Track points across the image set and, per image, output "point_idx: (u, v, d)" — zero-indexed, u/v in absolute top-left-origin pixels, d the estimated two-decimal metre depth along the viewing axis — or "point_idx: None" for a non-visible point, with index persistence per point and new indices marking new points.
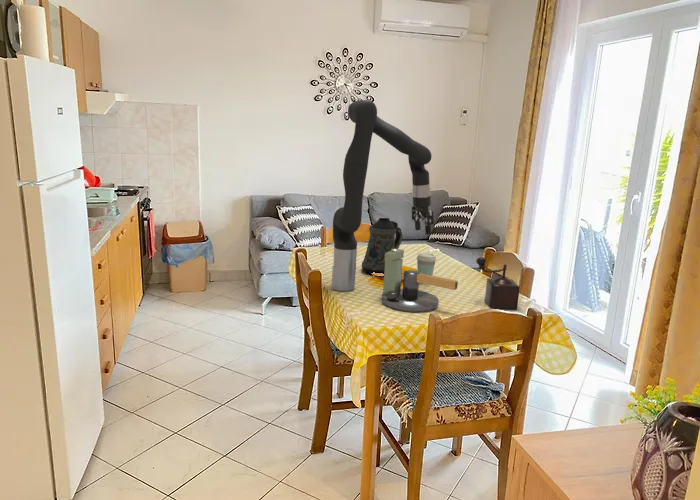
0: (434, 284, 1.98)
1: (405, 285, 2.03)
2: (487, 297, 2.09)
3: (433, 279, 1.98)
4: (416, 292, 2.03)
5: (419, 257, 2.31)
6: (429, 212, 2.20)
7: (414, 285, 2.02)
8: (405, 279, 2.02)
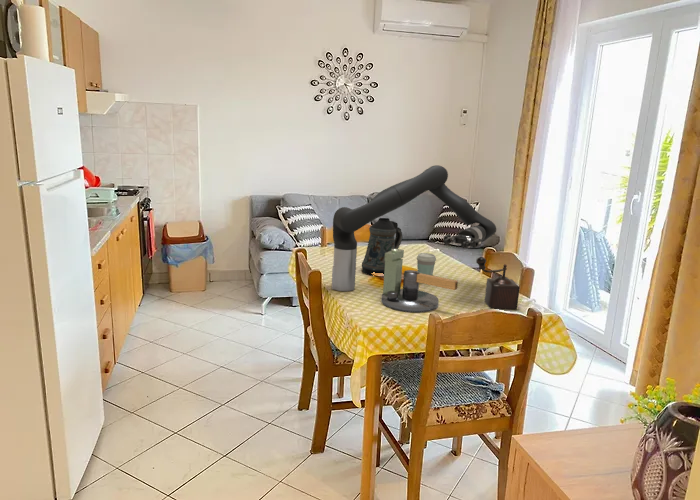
0: (434, 284, 1.98)
1: (405, 285, 2.03)
2: (487, 297, 2.09)
3: (433, 279, 1.98)
4: (416, 292, 2.03)
5: (419, 257, 2.31)
6: (480, 241, 2.05)
7: (414, 285, 2.02)
8: (405, 279, 2.02)
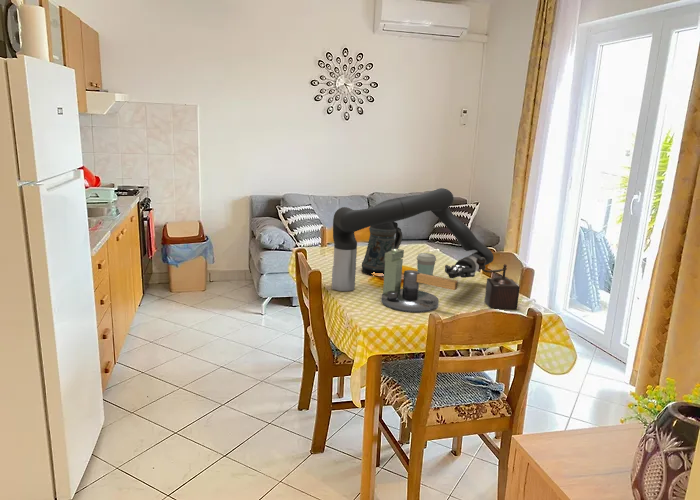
0: (434, 284, 1.98)
1: (405, 285, 2.03)
2: (487, 297, 2.09)
3: (433, 279, 1.98)
4: (416, 292, 2.03)
5: (419, 257, 2.31)
6: (474, 272, 2.07)
7: (414, 285, 2.02)
8: (405, 279, 2.02)
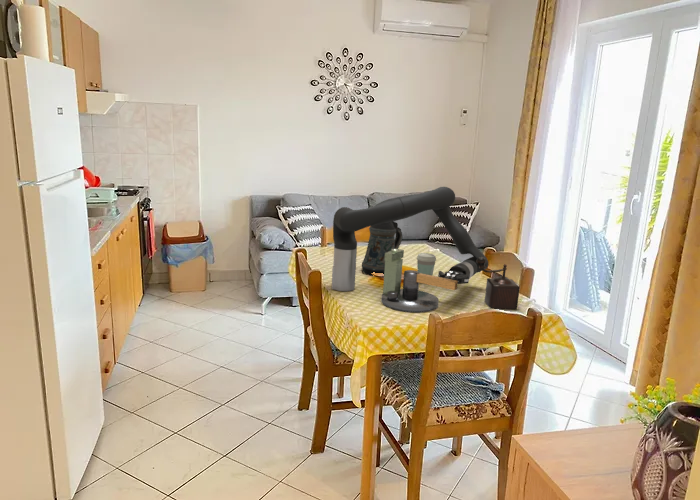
0: (434, 284, 1.98)
1: (405, 285, 2.03)
2: (487, 297, 2.09)
3: (433, 279, 1.98)
4: (416, 292, 2.03)
5: (419, 257, 2.31)
6: (468, 279, 2.02)
7: (414, 285, 2.02)
8: (405, 279, 2.02)
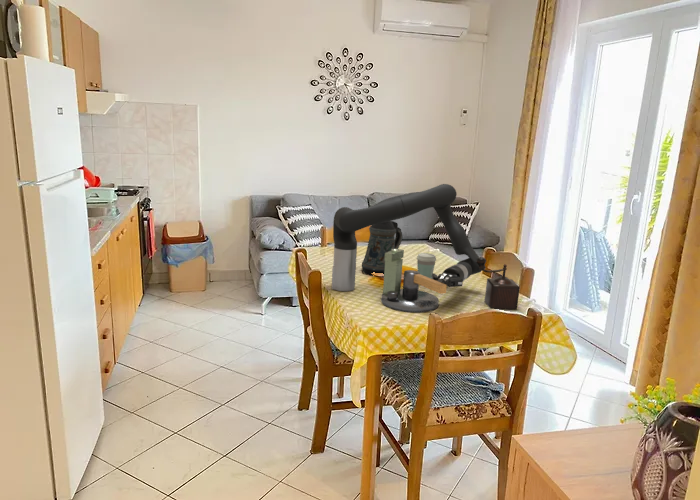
0: (426, 286, 1.95)
1: (403, 284, 2.04)
2: (487, 297, 2.09)
3: (425, 281, 1.95)
4: (413, 292, 2.02)
5: (419, 257, 2.31)
6: (462, 281, 1.98)
7: (410, 285, 2.02)
8: None
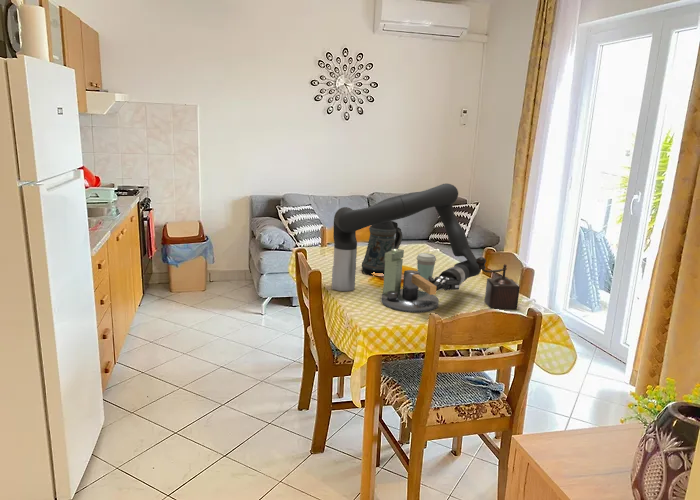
0: (420, 286, 1.94)
1: (403, 283, 2.05)
2: (487, 297, 2.09)
3: (419, 281, 1.94)
4: (412, 292, 2.02)
5: (419, 257, 2.31)
6: (458, 284, 1.94)
7: (408, 284, 2.02)
8: None
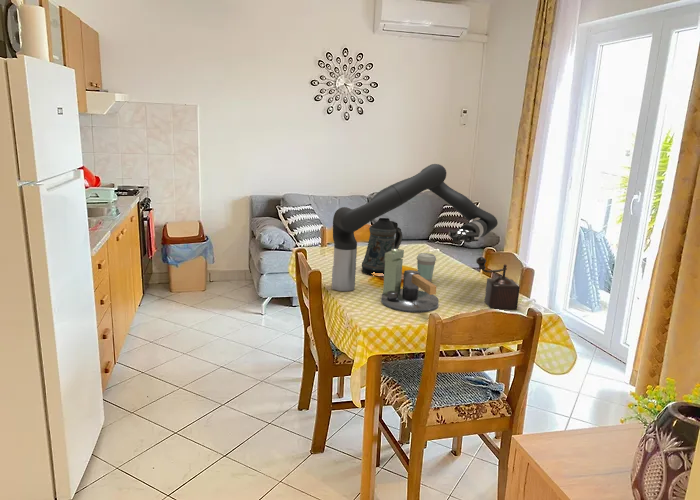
0: (420, 286, 1.94)
1: (403, 283, 2.05)
2: (487, 297, 2.09)
3: (419, 281, 1.94)
4: (412, 292, 2.02)
5: (419, 257, 2.31)
6: (478, 236, 2.06)
7: (408, 284, 2.02)
8: None
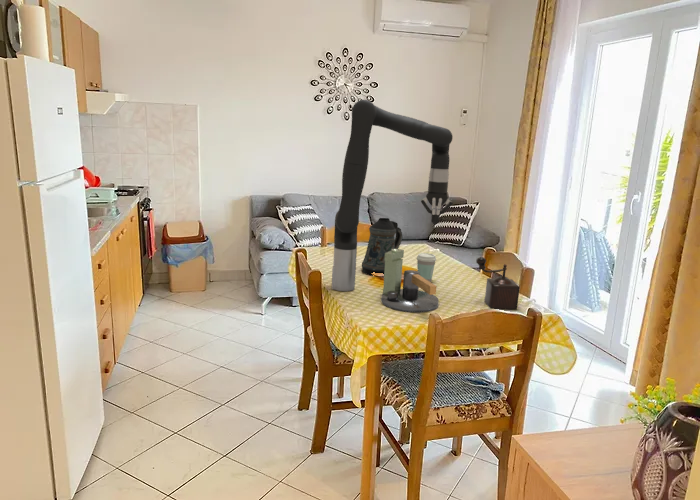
0: (420, 286, 1.94)
1: (403, 283, 2.05)
2: (487, 297, 2.09)
3: (419, 281, 1.94)
4: (412, 292, 2.02)
5: (419, 257, 2.31)
6: (452, 203, 2.10)
7: (408, 284, 2.02)
8: None
